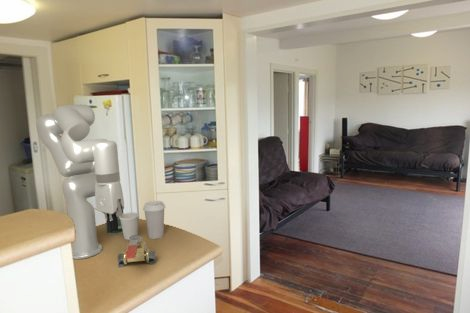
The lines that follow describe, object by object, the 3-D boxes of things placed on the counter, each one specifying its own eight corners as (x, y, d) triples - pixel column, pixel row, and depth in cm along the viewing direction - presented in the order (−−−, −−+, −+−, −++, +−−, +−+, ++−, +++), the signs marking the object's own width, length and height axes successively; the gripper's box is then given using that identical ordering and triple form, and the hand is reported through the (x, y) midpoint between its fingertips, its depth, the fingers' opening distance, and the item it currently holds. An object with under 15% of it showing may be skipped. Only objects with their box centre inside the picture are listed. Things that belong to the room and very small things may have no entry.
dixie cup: (120, 241, 144) (118, 219, 143) (121, 234, 152) (120, 213, 151) (140, 239, 146) (138, 217, 144) (141, 232, 154) (139, 211, 152)
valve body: (117, 268, 121) (115, 247, 119) (120, 261, 127) (118, 240, 125) (154, 265, 123) (153, 244, 121) (155, 257, 129) (154, 237, 127)
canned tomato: (104, 234, 153) (102, 211, 151) (110, 228, 161) (108, 205, 159) (121, 234, 153) (119, 210, 151) (127, 227, 161) (125, 205, 159)
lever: (123, 259, 110) (123, 253, 110) (130, 240, 125) (130, 235, 125) (137, 257, 111) (137, 252, 111) (142, 239, 126) (142, 234, 126)
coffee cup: (154, 242, 143) (152, 208, 141) (140, 237, 149) (138, 204, 146) (171, 234, 151) (169, 202, 148) (157, 230, 156) (155, 199, 154)
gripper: (85, 178, 113) (90, 230, 116) (111, 182, 104) (116, 238, 107) (105, 174, 119) (110, 223, 122) (131, 177, 110) (136, 231, 113)
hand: (113, 230), depth 114 cm, fingers closed
